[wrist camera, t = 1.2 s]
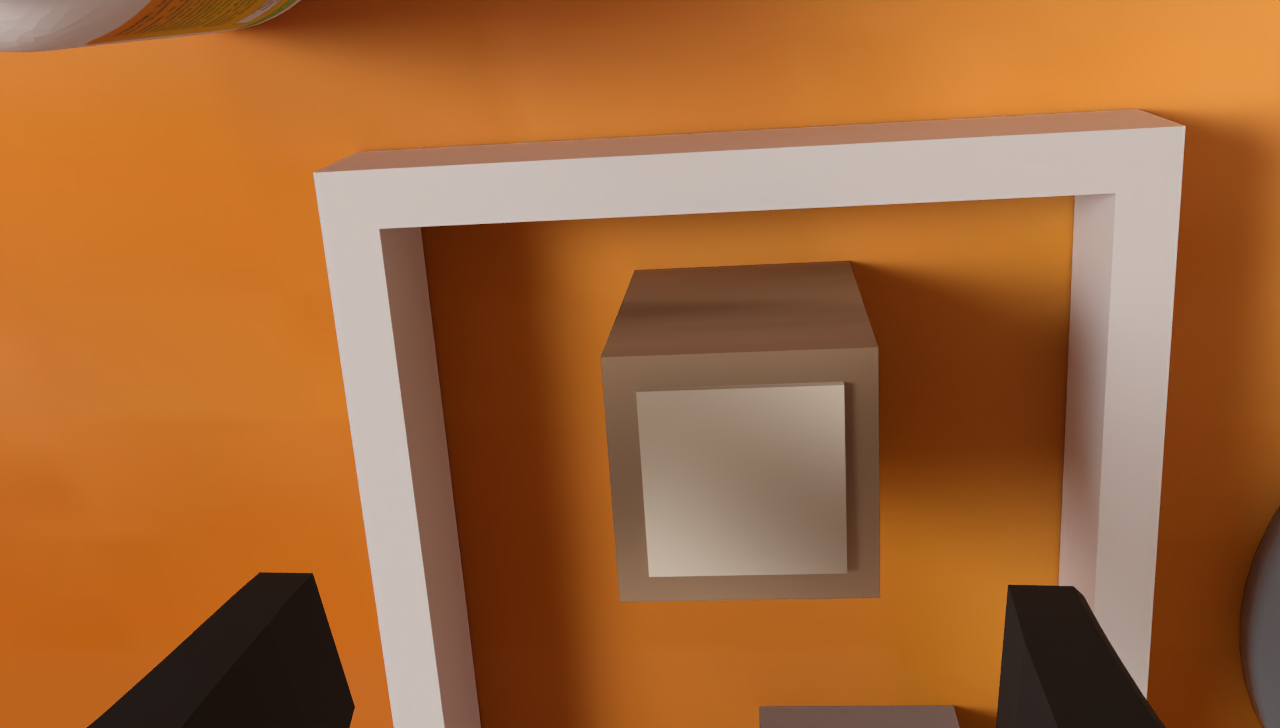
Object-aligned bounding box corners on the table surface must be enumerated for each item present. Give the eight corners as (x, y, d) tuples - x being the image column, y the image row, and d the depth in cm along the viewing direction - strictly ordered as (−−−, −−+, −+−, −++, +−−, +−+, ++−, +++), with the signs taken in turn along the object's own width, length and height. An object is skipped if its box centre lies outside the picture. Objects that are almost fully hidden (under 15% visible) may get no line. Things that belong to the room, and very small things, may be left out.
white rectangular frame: (1090, 943, 27) (1123, 1038, 24) (463, 936, 28) (437, 1024, 26) (1137, 108, 21) (1185, 126, 19) (358, 151, 23) (313, 172, 20)
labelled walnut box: (852, 460, 24) (880, 602, 19) (648, 466, 24) (618, 606, 19) (849, 260, 23) (879, 350, 17) (635, 270, 23) (599, 360, 18)
